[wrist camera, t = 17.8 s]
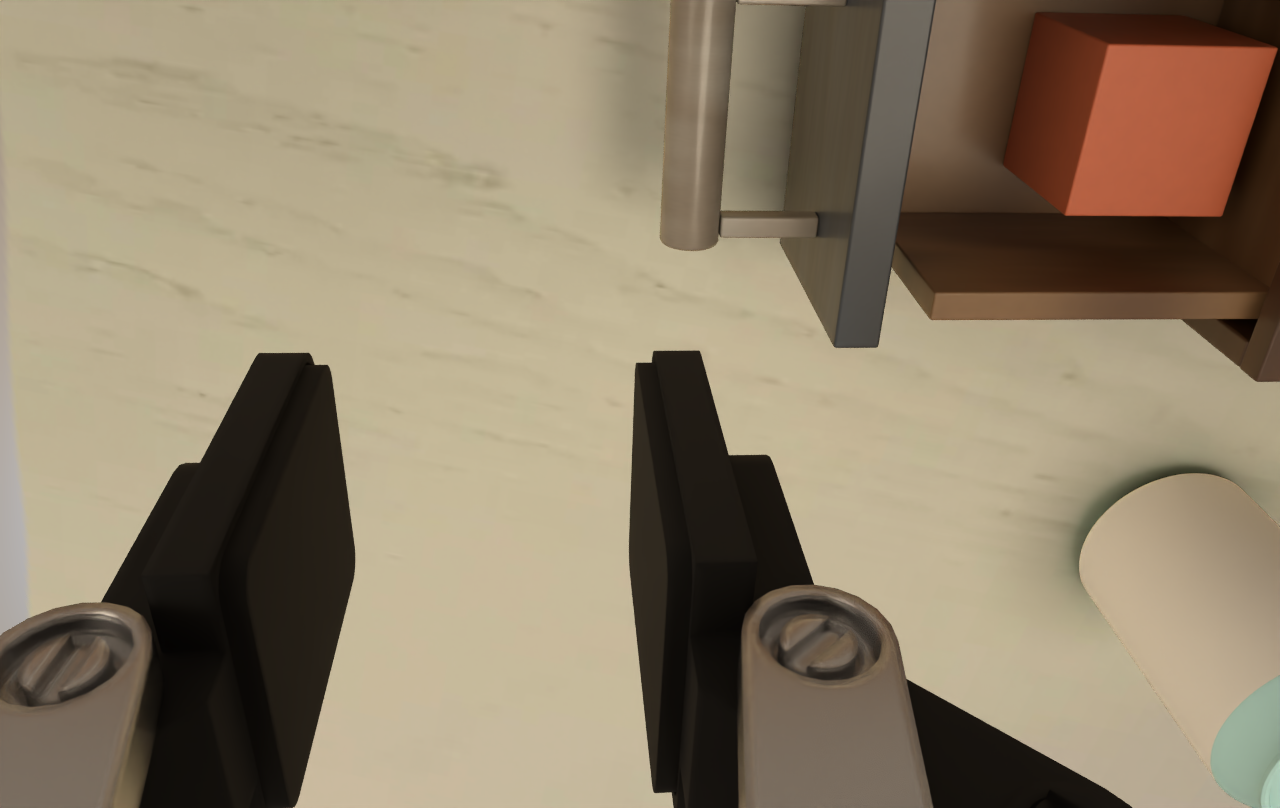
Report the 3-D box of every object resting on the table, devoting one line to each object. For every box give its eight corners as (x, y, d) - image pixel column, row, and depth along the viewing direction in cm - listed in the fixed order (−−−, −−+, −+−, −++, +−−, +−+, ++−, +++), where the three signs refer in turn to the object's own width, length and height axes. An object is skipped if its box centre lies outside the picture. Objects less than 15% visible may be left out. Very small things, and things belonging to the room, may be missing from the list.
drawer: (645, 243, 33) (668, 350, 26) (659, -125, 27) (692, -103, 21) (1152, 245, 34) (1289, 346, 28) (1258, -106, 29) (1456, -79, 22)
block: (1034, 11, 29) (1108, 44, 25) (1184, 15, 29) (1279, 47, 25) (1002, 165, 31) (1064, 216, 27) (1141, 167, 31) (1223, 217, 28)
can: (1077, 620, 44) (1241, 875, 33) (1065, 491, 40) (1244, 731, 30) (1243, 576, 43) (1463, 821, 33) (1246, 442, 40) (1493, 668, 29)
